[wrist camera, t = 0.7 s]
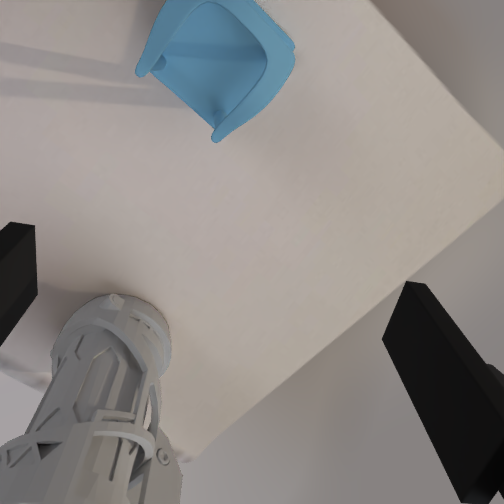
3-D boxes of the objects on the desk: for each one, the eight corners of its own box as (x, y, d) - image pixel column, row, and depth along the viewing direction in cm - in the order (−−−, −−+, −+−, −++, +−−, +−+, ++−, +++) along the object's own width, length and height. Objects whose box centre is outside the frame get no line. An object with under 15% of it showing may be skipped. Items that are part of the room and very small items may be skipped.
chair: (142, 60, 32) (96, 76, 21) (214, -40, 29) (205, -81, 18) (222, 131, 34) (218, 177, 24) (295, 45, 32) (328, 53, 21)
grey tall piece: (46, 335, 42) (-155, 668, 20) (112, 270, 39) (-38, 578, 17) (147, 400, 47) (74, 730, 25) (213, 347, 44) (197, 668, 22)
